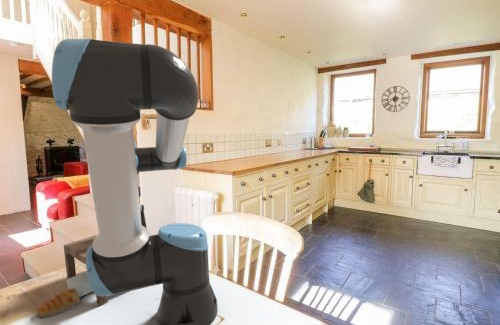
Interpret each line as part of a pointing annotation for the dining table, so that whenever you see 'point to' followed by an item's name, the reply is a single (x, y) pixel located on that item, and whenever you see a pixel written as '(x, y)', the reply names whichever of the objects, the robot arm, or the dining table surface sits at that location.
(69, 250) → the bench
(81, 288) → the white stepped block
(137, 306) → the dining table surface
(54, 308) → the pastry
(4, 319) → the dining table surface
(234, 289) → the dining table surface
